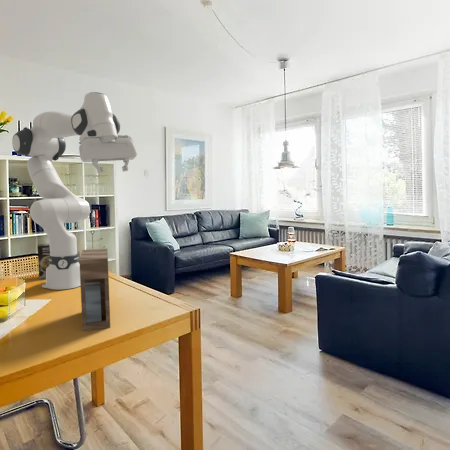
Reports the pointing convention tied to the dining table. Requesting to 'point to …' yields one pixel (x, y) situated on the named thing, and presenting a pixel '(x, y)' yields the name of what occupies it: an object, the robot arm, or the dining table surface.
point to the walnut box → (95, 272)
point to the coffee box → (43, 259)
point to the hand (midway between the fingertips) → (113, 171)
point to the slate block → (93, 302)
